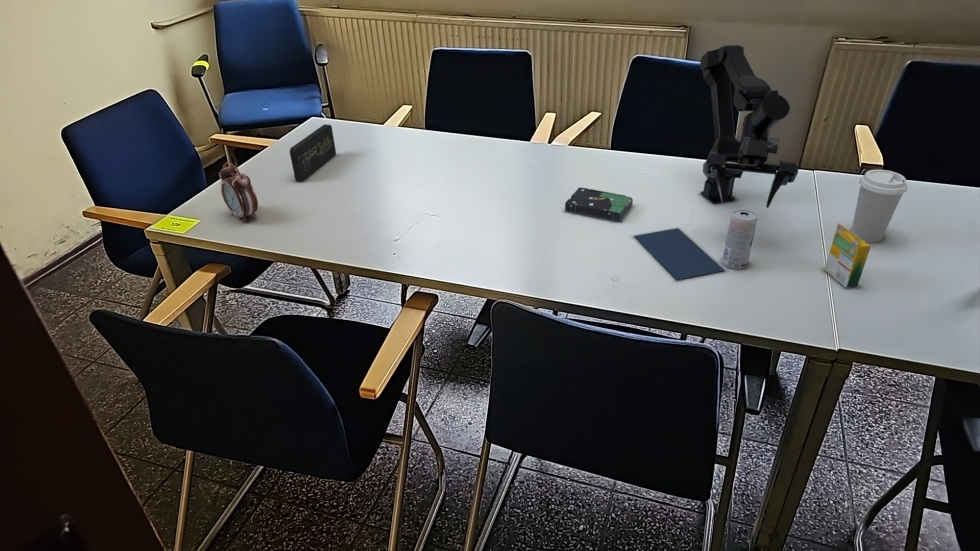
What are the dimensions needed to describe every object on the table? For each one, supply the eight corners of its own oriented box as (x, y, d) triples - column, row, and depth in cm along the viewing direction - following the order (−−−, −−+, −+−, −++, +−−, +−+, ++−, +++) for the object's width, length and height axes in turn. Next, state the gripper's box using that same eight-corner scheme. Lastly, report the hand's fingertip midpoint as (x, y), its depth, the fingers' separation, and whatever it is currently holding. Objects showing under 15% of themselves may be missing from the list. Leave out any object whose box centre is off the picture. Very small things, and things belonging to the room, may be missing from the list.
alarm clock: (225, 213, 172) (211, 160, 164) (242, 207, 175) (228, 154, 167) (247, 226, 166) (233, 171, 158) (264, 219, 169) (251, 165, 161)
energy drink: (747, 259, 146) (758, 211, 140) (747, 271, 142) (757, 222, 136) (722, 255, 148) (731, 207, 141) (721, 267, 144) (730, 219, 137)
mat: (677, 229, 159) (677, 228, 158) (724, 271, 142) (724, 270, 142) (634, 236, 156) (634, 235, 156) (676, 280, 140) (676, 279, 140)
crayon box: (858, 286, 136) (874, 237, 130) (845, 288, 136) (861, 239, 129) (835, 268, 142) (850, 220, 136) (823, 270, 142) (837, 222, 135)
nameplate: (301, 182, 187) (294, 149, 182) (295, 182, 188) (288, 149, 182) (336, 154, 204) (331, 123, 199) (331, 154, 205) (325, 123, 199)
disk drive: (564, 212, 168) (620, 223, 162) (564, 202, 166) (621, 212, 160) (578, 196, 175) (632, 205, 170) (578, 186, 174) (633, 195, 168)
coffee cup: (870, 250, 148) (891, 189, 140) (834, 232, 155) (851, 173, 147) (898, 239, 152) (919, 179, 143) (861, 222, 159) (880, 164, 151)
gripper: (713, 118, 141) (702, 186, 138) (807, 126, 135) (798, 197, 133) (710, 140, 151) (699, 204, 149) (797, 148, 146) (788, 214, 143)
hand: (745, 204), depth 143 cm, fingers open, 9 cm apart
